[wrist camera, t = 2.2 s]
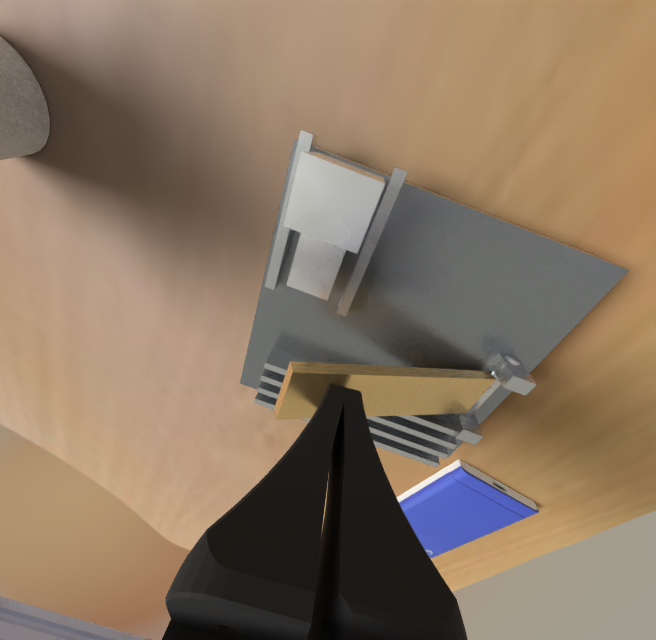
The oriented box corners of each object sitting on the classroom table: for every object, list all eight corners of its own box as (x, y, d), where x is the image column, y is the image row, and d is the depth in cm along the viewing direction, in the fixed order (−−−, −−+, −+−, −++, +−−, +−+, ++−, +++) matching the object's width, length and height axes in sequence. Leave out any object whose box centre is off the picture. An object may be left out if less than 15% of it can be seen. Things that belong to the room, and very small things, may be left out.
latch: (383, 177, 12) (385, 183, 9) (339, 289, 14) (330, 320, 12) (319, 152, 12) (301, 151, 9) (287, 270, 14) (266, 297, 12)
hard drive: (433, 560, 29) (541, 515, 23) (366, 528, 27) (462, 471, 21) (430, 542, 30) (531, 495, 24) (367, 510, 29) (457, 452, 23)
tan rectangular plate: (488, 371, 15) (496, 379, 15) (459, 404, 17) (466, 413, 16) (290, 361, 11) (292, 372, 10) (274, 407, 12) (276, 419, 12)
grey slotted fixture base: (604, 248, 13) (677, 277, 10) (442, 433, 21) (453, 483, 18) (307, 132, 13) (284, 123, 10) (251, 364, 21) (227, 403, 17)
